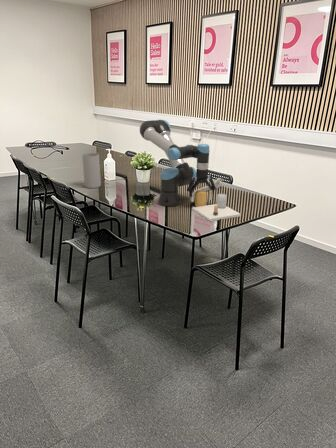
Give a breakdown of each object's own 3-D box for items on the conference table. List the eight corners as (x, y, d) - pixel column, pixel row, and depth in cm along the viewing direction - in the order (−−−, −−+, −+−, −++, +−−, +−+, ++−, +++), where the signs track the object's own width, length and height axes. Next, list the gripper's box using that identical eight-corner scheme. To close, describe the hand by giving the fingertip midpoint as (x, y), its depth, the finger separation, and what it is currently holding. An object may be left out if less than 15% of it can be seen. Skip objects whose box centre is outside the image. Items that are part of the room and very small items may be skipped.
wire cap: (193, 204, 227) (194, 190, 223) (202, 203, 230) (203, 189, 226) (198, 207, 221) (199, 193, 218) (207, 206, 224) (208, 192, 220)
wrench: (194, 197, 251) (221, 186, 268) (196, 198, 250) (222, 186, 266) (193, 187, 247) (221, 176, 264) (195, 188, 246) (222, 177, 263)
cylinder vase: (102, 184, 271) (100, 153, 261) (98, 188, 259) (96, 156, 250) (87, 183, 272) (85, 152, 262) (82, 188, 260) (79, 155, 251)
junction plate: (192, 209, 218) (192, 195, 214) (221, 205, 226) (222, 191, 223) (209, 221, 199) (210, 206, 196) (240, 216, 208) (241, 201, 204)
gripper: (187, 171, 208) (186, 204, 216) (222, 168, 218) (219, 199, 226) (182, 169, 214) (181, 200, 223) (215, 166, 224) (213, 196, 232)
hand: (200, 200), depth 224 cm, fingers open, 13 cm apart
